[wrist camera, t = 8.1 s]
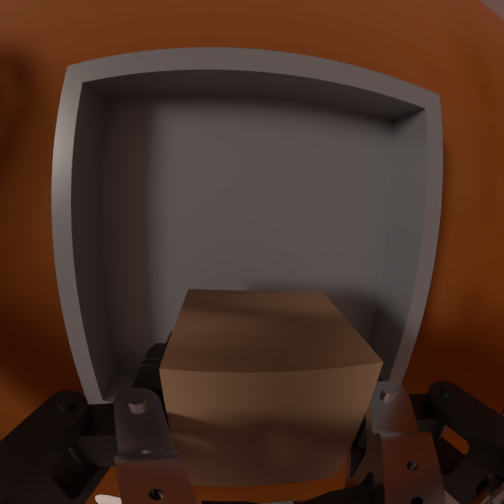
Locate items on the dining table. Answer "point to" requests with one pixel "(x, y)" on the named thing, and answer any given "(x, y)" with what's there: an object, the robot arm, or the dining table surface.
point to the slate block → (288, 503)
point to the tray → (239, 196)
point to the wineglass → (107, 499)
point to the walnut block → (264, 386)
